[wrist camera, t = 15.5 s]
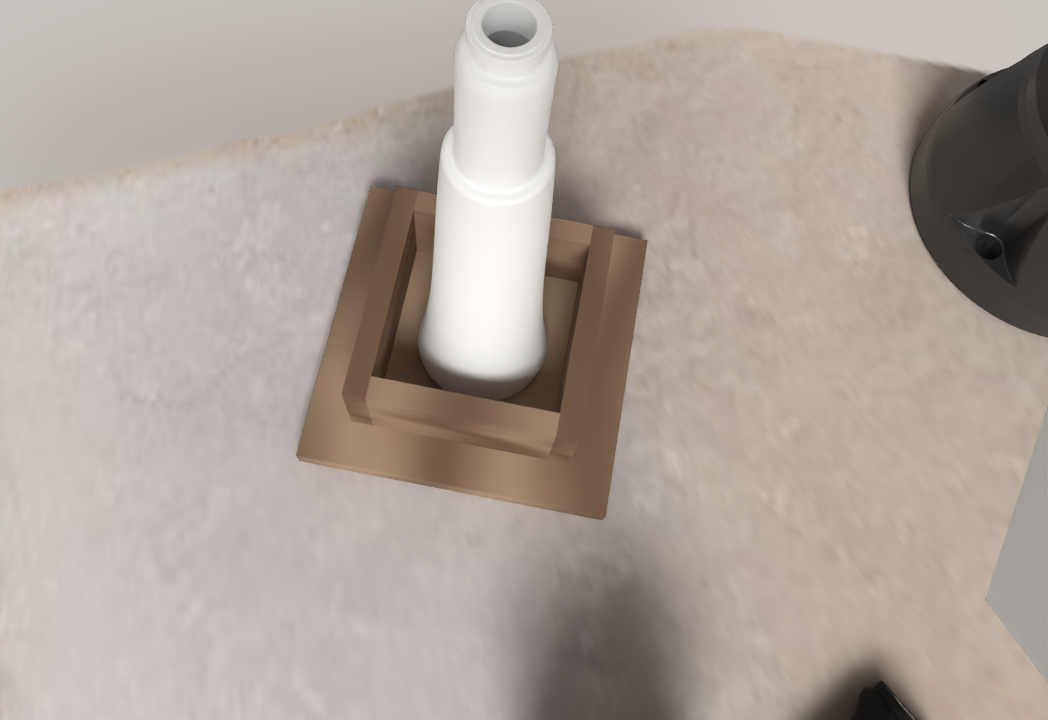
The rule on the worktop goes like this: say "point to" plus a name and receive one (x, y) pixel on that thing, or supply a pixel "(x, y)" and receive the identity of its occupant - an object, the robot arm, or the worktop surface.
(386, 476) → the holder
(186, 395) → the worktop surface
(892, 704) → the black flashlight
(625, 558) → the worktop surface
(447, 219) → the cosmetic bottle
